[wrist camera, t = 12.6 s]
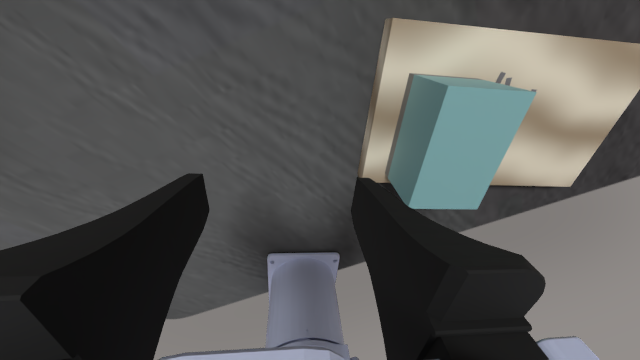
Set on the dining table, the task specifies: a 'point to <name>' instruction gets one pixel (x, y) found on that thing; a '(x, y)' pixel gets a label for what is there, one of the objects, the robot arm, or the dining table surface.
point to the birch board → (517, 71)
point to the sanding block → (452, 139)
